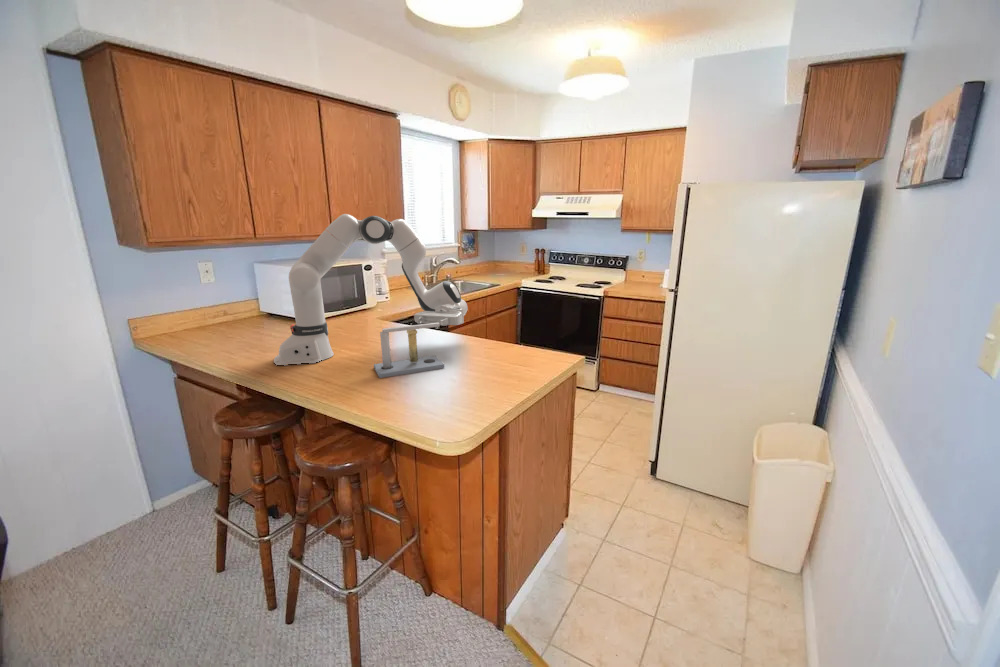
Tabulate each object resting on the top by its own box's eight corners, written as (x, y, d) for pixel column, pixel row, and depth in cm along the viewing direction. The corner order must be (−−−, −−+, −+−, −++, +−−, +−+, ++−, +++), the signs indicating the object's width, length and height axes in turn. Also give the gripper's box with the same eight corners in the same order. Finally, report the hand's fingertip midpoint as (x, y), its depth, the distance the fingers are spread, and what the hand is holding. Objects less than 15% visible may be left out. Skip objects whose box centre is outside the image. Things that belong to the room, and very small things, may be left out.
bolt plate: (379, 378, 152) (375, 334, 148) (374, 367, 163) (370, 326, 158) (445, 367, 162) (443, 326, 157) (436, 358, 172) (434, 319, 168)
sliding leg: (410, 364, 160) (408, 331, 157) (408, 361, 163) (406, 329, 160) (419, 362, 162) (417, 330, 158) (417, 360, 164) (415, 328, 161)
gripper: (423, 306, 185) (405, 313, 173) (466, 308, 178) (451, 316, 166) (424, 320, 187) (407, 328, 175) (467, 323, 180) (452, 331, 167)
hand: (429, 322), depth 170 cm, fingers open, 8 cm apart
